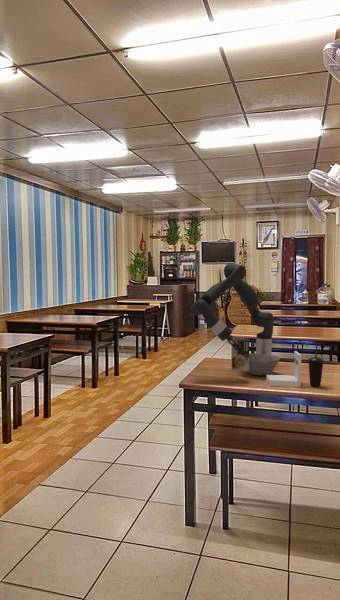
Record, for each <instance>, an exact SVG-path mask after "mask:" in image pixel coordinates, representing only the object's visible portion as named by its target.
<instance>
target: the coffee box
mask: <svg viewBox="0 0 340 600" xmlns="http://www.w3.org/2000/svg"><path fill="white" fill-rule="evenodd" d="M234 338H235V340H234V341H235V342H238V345H239V346H240V347H241V348H242V349H243V350H244V351H245V354H244V355H242V354H241V353H240V352H239V351H238V350H235V348H234V347H232V346H231V371H242V372H245V371H246V372H248V371H249V354H250V339H249V337H248V338H247V337H246V338H245V337H244V338H242V337H239V338H238V337H234ZM235 347H237V345H236V346H235Z"/></svg>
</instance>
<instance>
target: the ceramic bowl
mask: <svg viewBox="0 0 340 600" xmlns="http://www.w3.org/2000/svg"><path fill="white" fill-rule="evenodd" d="M280 360H281V357H280V356H278V355H272V354H271V355H268V354H256V352H255V353H249V371H247V372H248V373H249V374H251V375H253V376H266V375H271V373H273V372H274V370H275V368H276V367H277V365H278V364H279V362H280Z"/></svg>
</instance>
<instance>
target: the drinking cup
mask: <svg viewBox="0 0 340 600" xmlns="http://www.w3.org/2000/svg"><path fill="white" fill-rule="evenodd" d="M314 355H315V356H311V357H309V358H307V360H308V371H309V386H310V387H311V386H312V387H311V388H321V385H322V384H321V383H322V376H323V367H324V362H325V359H324V358H322V357H319V356H318V346H315V354H314Z"/></svg>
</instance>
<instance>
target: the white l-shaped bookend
mask: <svg viewBox="0 0 340 600" xmlns="http://www.w3.org/2000/svg"><path fill="white" fill-rule="evenodd" d="M265 376H266V382H267V384H268V386H269V387H283V388H284V387H286V388H287V387H288V388H289V387H291V388H301V387H302V386H301V385H302V384H301V382H302V380H301V379H302V354H301V353H299V352H298V351H297V350H295V351H293V375H284V374H283V375H281V374H278V375H277V374H268V375H265Z"/></svg>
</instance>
